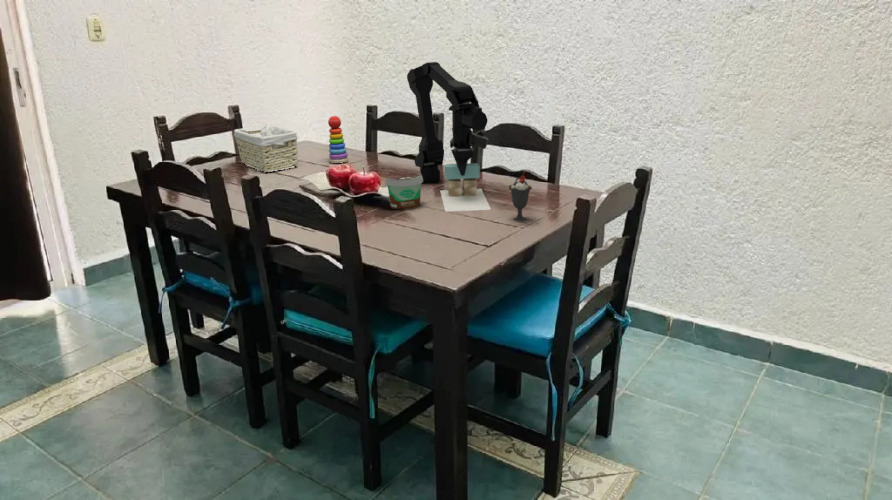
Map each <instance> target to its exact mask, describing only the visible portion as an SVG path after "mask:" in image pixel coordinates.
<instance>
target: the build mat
mask: <svg viewBox="0 0 892 500" xmlns="http://www.w3.org/2000/svg"><path fill="white" fill-rule="evenodd" d="M461 192H462V196H454V197H449V194H448V189H447V190H446V189H443V190H440V195H441V198H442V199H441V200H442V204H443V208H444V212H446V213H449V212H466V211H467V212H469V211H470V212H471V211H473V212H474V211H490V210H491V208H492V207H490V204H489V202H488V200H487V198H486V196H485V194H484V191H483V190H482V188H477V196H464V193H463V189H461Z"/></svg>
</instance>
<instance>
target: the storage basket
mask: <svg viewBox="0 0 892 500" xmlns="http://www.w3.org/2000/svg"><path fill="white" fill-rule="evenodd" d="M233 134H234V135H233V136H234V138H235V141H236V144H237V150H238V152H239V159H240V162H242V163H245V164H247V165H250V166H252V167H254V168H258V169H260V170H264V171H271V170H276V169H277V170H278V169H282V168H287V167H292V166H297V165H298V163H299V162H298V143H297V142H298V139H299V138H298V137H299V136H298V135H297V132H296V131H294V130H291V129H289V128H288V129H287V128H284V127H280V126H277V125H272V124H264V125H257V126H256V125H255V126H249V127H244V128H243V127H242V128H236V129H234V132H233ZM255 134H260V135H255ZM242 163H241V164H242ZM298 166H299V165H298Z"/></svg>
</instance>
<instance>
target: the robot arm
mask: <svg viewBox="0 0 892 500" xmlns="http://www.w3.org/2000/svg"><path fill="white" fill-rule="evenodd" d="M406 79H407V80H406V81H407V82H408V86H409V89H410V91H411V92H412V93H413V95H414V96H415V100H416V101H415V102H416V107H417V108H416V109H417V115H418V120H419V127H420V128H419V129H420V135H421V139H420V142H419V144H418V153H417V155H416V157H415V158H414V165H415V167H417V168H419V173H421V175H422V178H423V182H422V183H421V185H432V184H433V185H435V184H440V182H441V170H440V168H439V166H442V165H443V163H444V157H445V149H444V142H443V140H442V139H439V138H438V137H437V134H436V133H437V132H436V127H435V122H434V121H435V120H434V113H433V106H432V100H431V99H432V98H431V91H432V89H433V87H434V82H435V84H437V85H438V86H439V87H440V88H441V89H442V90H443V91H444V92H445V93H446V94H445V98H446V99H447V100H448V101H449V102H450V104H451V105H450V106H449V107H448V110H449V111H451V114H452V116H451V118H452V119H451V120H452V121H451V123H452V128H451V132H452V138H451V139H450V140H449V147H450V148H451V153H452V155H453V156H452V157H453V158H454V161H455V164H457V166H458V169H459V171H460V174H461V176H464V175H465V171H466V166H467V164H468V163H469V162H468V161H469V160H470V159H473V158H475V150H474V148H472V147H473V146H476V147H480V148H481V149H484V150H486V148H487V146H488V143H489V138H488V137H487V136H484V132H483V131H482V130H484V129H485V128H486V126H487V125H488V117H487V113H485V112H483V108H482V107H481V106H480V103H479V100H478V98H477V96H476V94H475V92H474V89H473V87H472V86H471V85H470V84H469V83H466V82H464V81H459V80H457V79H455V77H453V76H452V75H451V74H450V73H449V72H447V70H445V69H444V68H443V67H442V66H441V64H440V63H439V62H437V61H432V62H425V63H423V64H422V65H420V66H417V67H415V68H410V69H409V71H408V73H407V76H406ZM474 130H475V131H477V132H473V131H474Z"/></svg>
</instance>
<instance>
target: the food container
mask: <svg viewBox="0 0 892 500" xmlns="http://www.w3.org/2000/svg"><path fill="white" fill-rule="evenodd" d="M422 182H423V178H422V175H421V173H420V172H419V174H418V175H414V176H402V177H398V178H395V179H394V178H390V177H389V178H388V177H386V179H385V184H384V185H386V186H387V190H388V196H389V204H390V209H392V210H395V209H397V210H411V209H412V210H413V209H416V208H418V207H420V206H421V191H422V190H421V189H422V184H421V183H422Z"/></svg>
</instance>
